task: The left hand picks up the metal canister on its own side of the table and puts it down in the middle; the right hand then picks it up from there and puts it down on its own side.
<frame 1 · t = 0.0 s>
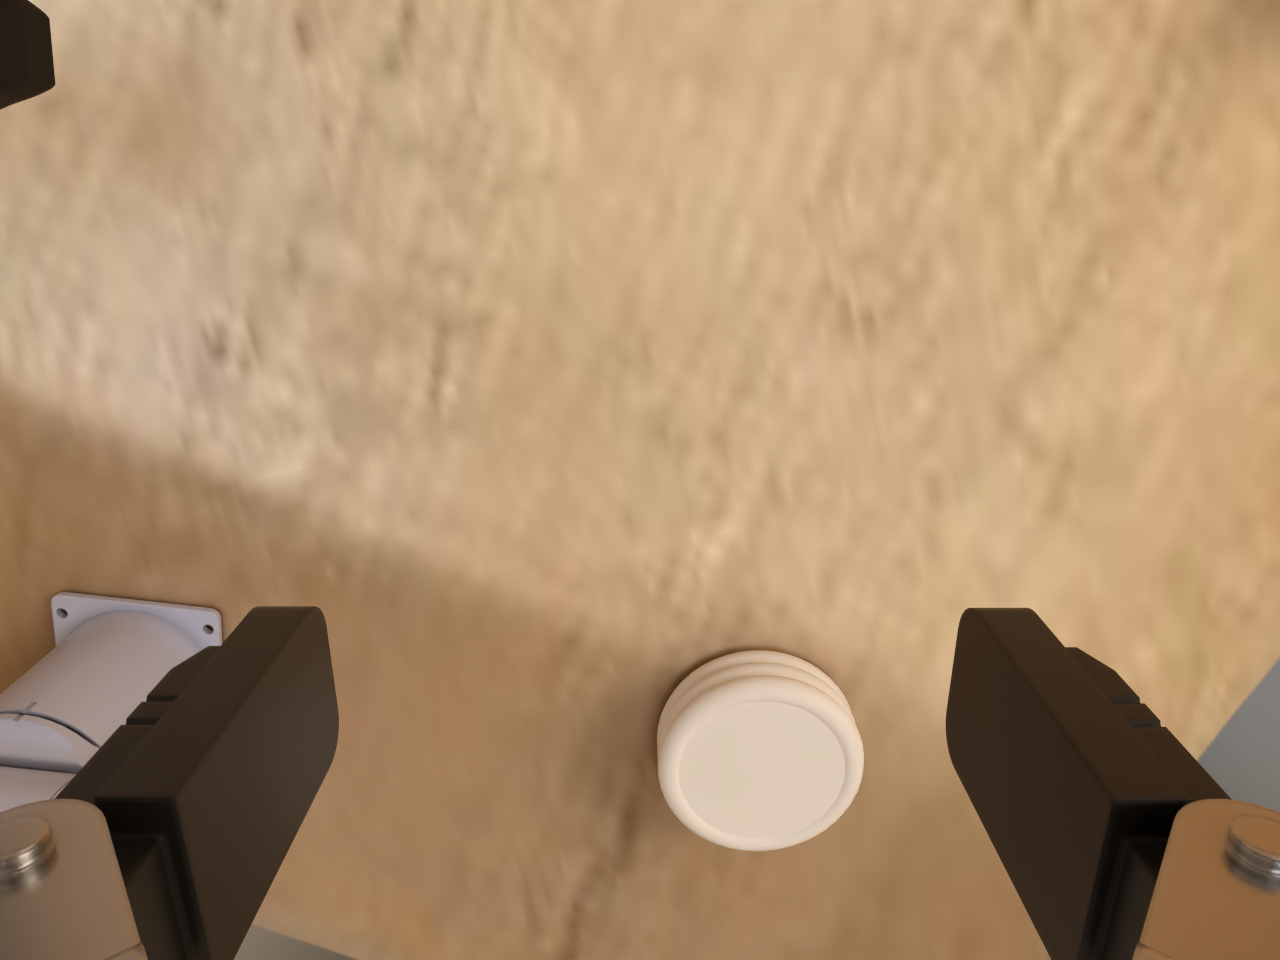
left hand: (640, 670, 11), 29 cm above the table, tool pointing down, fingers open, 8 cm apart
white ridged disc: (753, 727, 46), on the table
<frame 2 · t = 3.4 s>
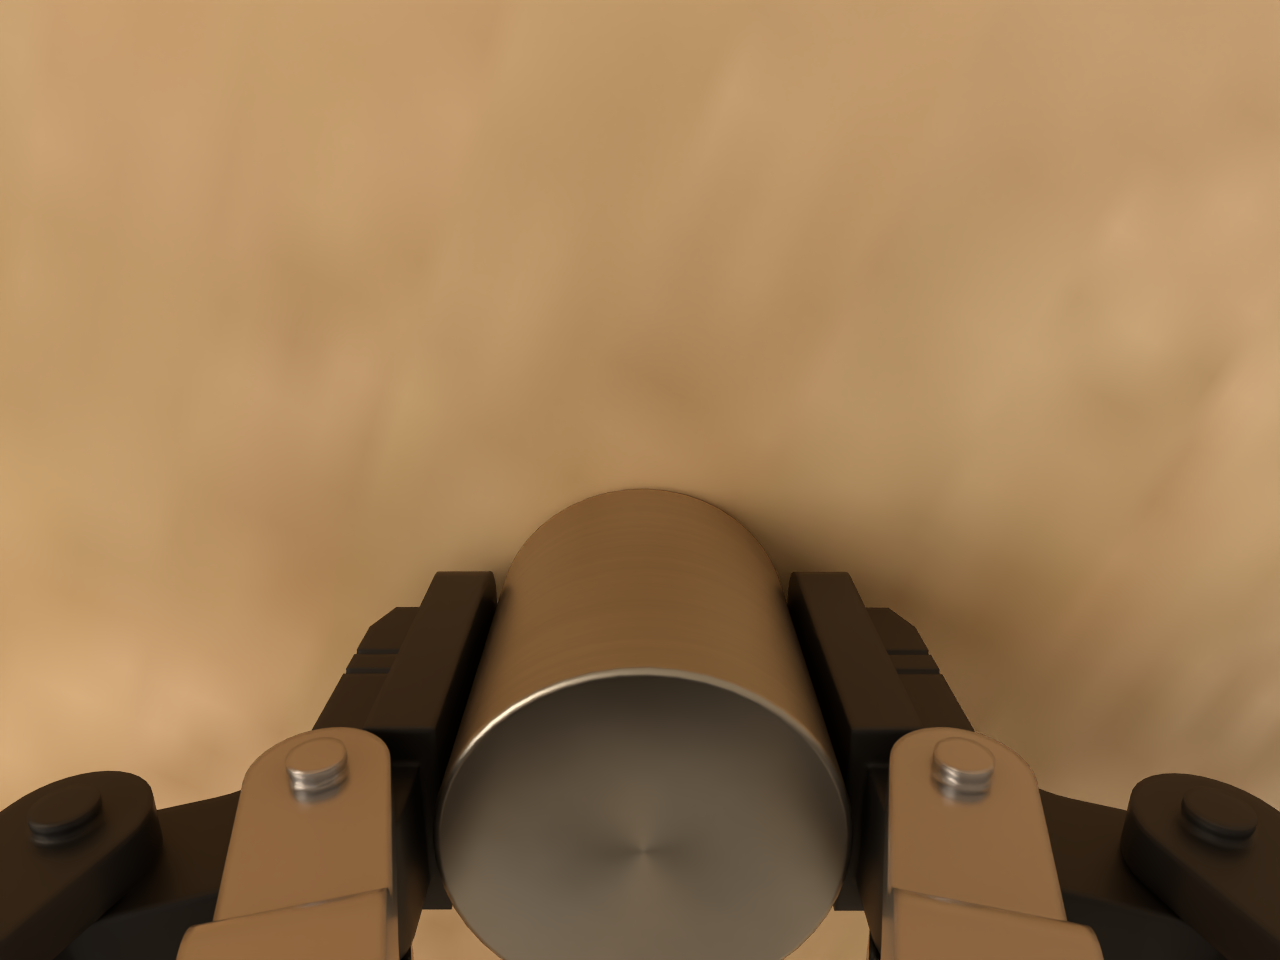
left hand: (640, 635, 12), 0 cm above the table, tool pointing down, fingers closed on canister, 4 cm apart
canister: (642, 619, 13), on the table, touching left hand
when the left hand's fingers open (1 cm above the table, at t = 10.6 s): canister drops 1 cm, on the table.
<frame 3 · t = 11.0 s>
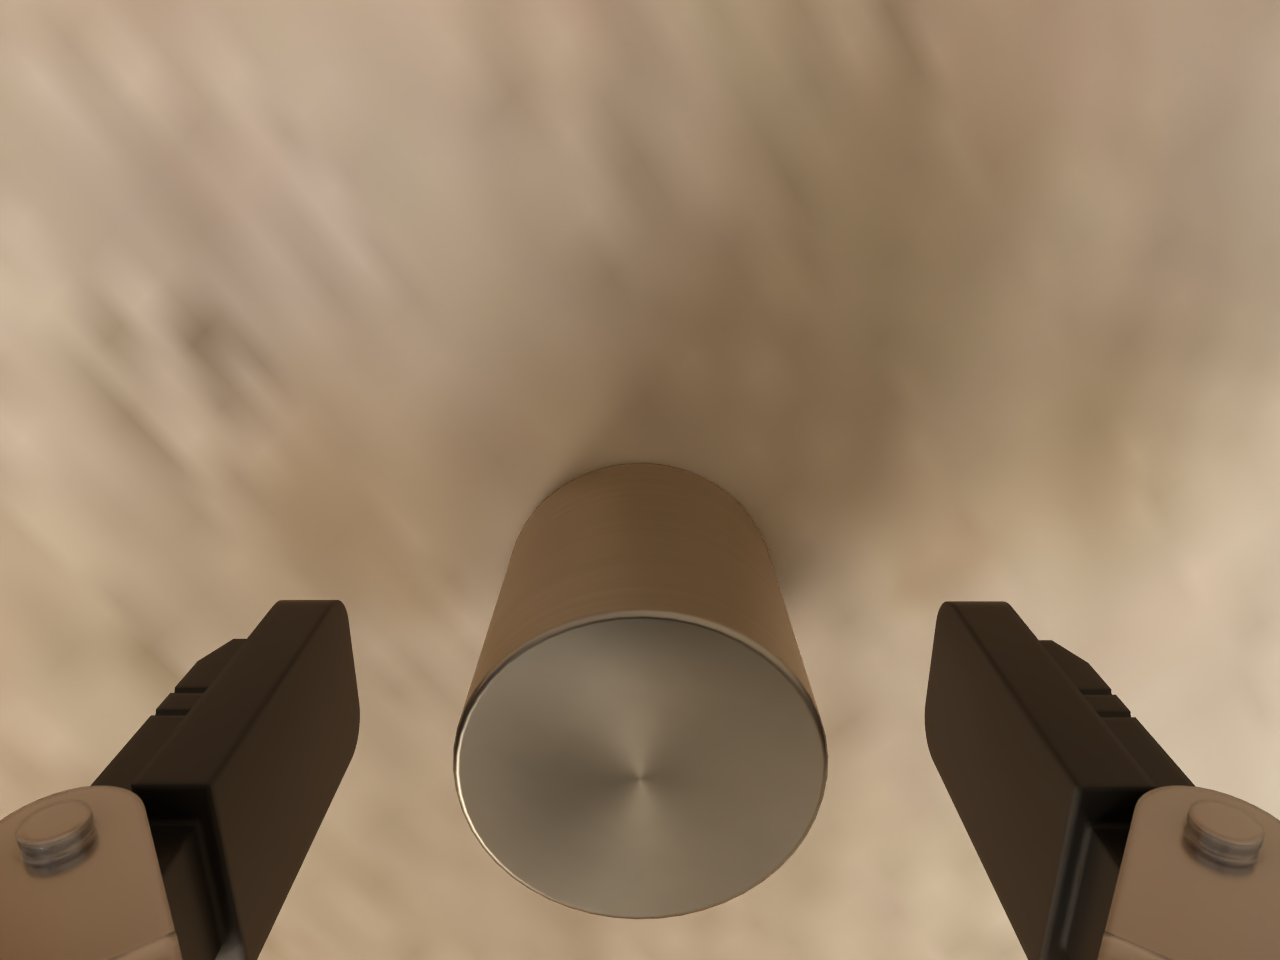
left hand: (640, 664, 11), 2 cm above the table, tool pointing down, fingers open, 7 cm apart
canister: (640, 585, 14), on the table
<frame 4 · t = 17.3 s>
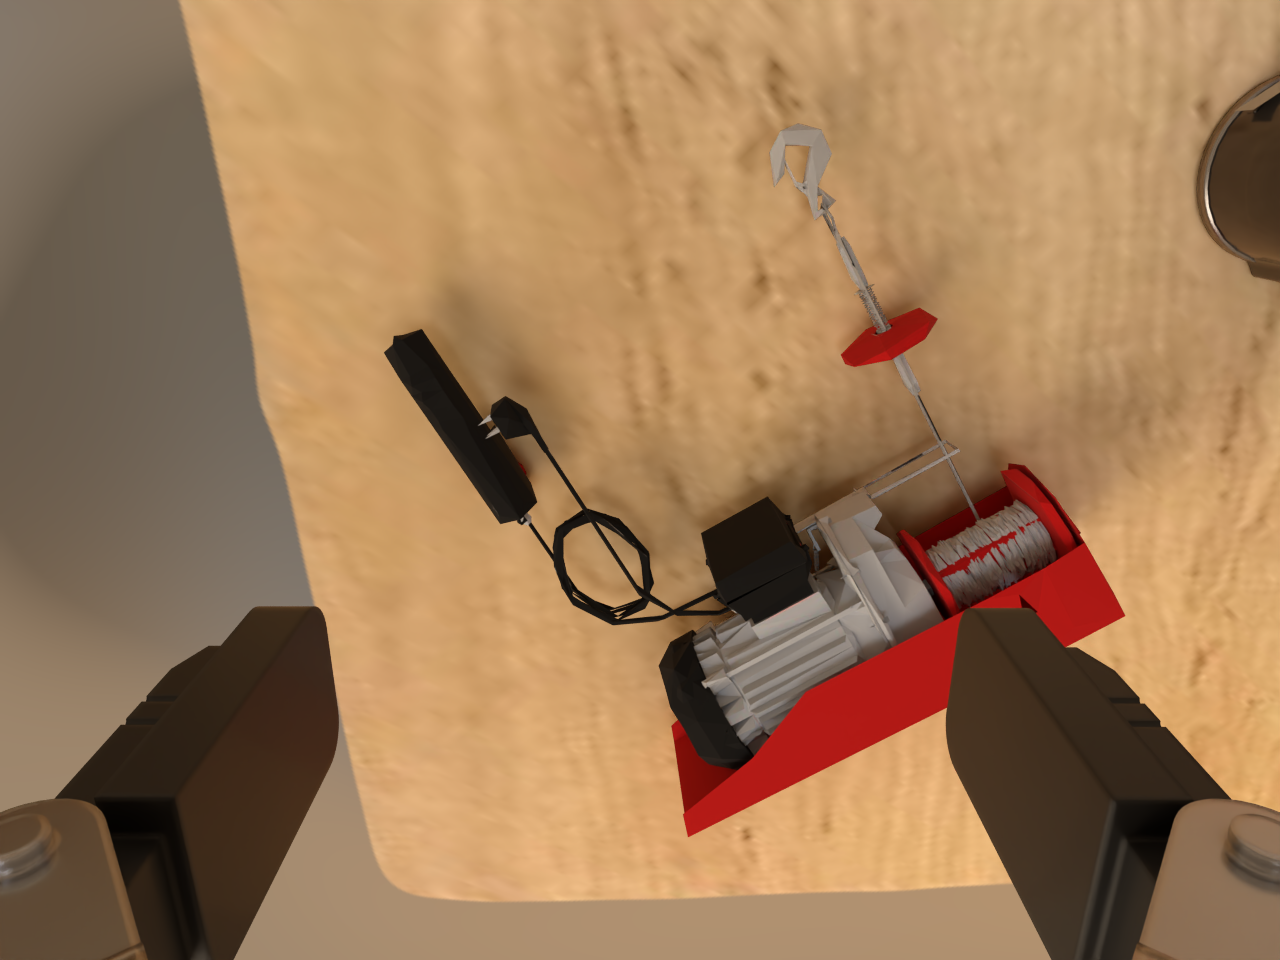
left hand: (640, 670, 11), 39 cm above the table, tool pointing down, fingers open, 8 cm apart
electric hoist: (738, 441, 51), on the table
when the right hand's fingers open (2 cm above the table, at t = 20.8 s): canister drops 1 cm, on the table.
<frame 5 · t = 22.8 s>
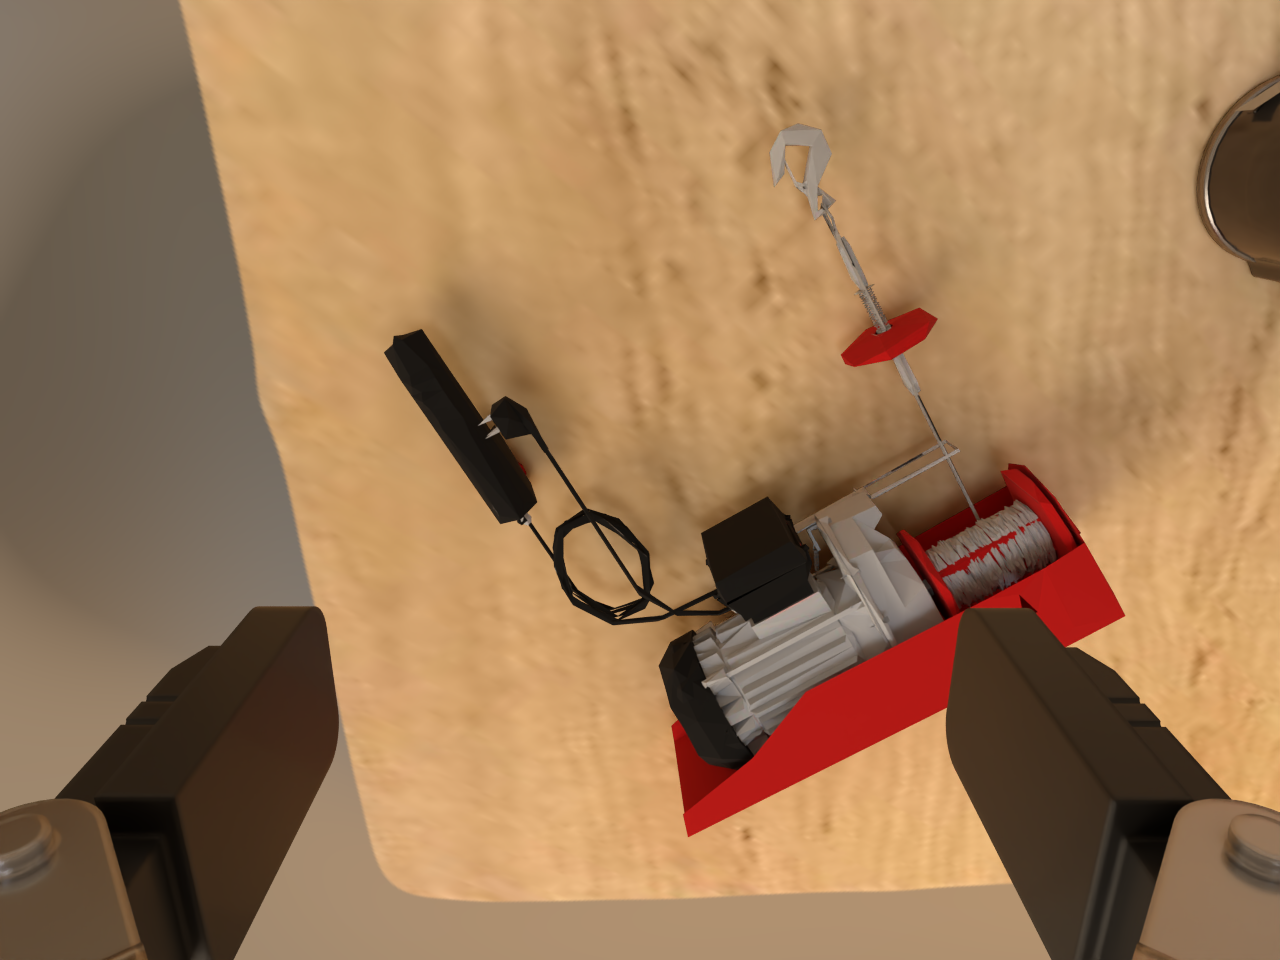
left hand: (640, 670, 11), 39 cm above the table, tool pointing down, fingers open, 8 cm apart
electric hoist: (738, 441, 51), on the table
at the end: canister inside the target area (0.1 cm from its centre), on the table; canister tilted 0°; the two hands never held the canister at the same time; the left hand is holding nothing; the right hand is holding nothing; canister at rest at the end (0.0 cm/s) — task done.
